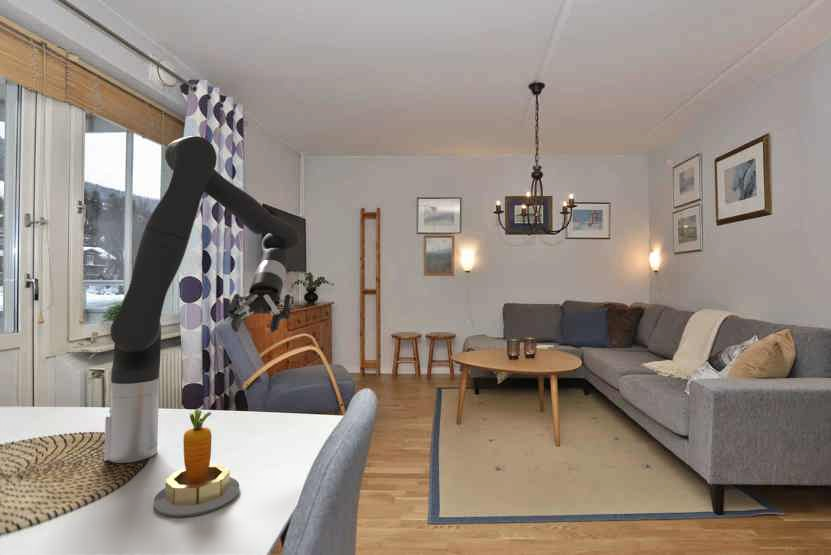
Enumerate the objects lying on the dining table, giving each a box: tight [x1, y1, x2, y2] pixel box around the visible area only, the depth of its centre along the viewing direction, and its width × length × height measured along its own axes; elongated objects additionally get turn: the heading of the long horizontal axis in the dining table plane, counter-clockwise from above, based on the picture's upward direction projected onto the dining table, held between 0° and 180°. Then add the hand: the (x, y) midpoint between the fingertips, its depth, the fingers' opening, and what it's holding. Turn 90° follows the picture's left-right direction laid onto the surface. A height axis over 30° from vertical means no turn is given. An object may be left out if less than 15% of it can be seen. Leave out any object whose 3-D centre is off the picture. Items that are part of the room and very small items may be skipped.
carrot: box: [182, 409, 213, 485], centre depth 80 cm, size 5×5×15 cm
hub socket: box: [153, 463, 240, 519], centre depth 80 cm, size 14×14×4 cm
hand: (253, 329), depth 101 cm, fingers open, 8 cm apart
